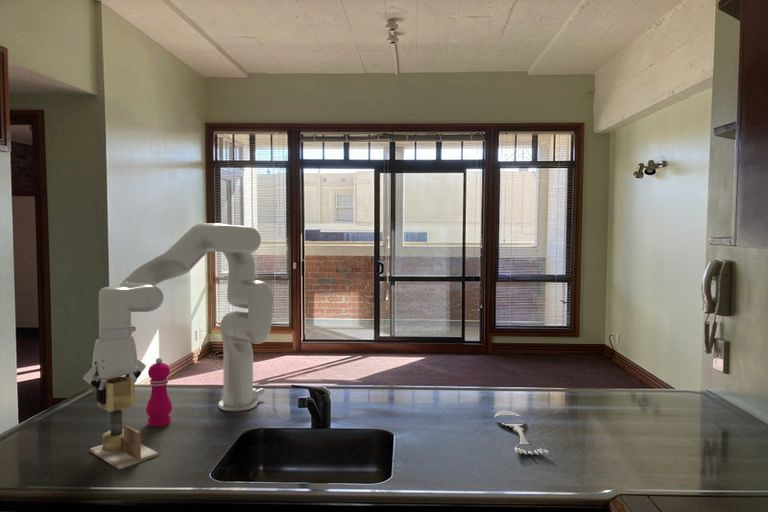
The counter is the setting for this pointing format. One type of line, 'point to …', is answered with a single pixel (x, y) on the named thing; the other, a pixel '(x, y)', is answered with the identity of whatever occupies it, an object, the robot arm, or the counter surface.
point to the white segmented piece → (522, 438)
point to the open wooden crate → (118, 393)
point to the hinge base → (122, 444)
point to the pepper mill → (159, 395)
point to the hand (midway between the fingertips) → (116, 399)
